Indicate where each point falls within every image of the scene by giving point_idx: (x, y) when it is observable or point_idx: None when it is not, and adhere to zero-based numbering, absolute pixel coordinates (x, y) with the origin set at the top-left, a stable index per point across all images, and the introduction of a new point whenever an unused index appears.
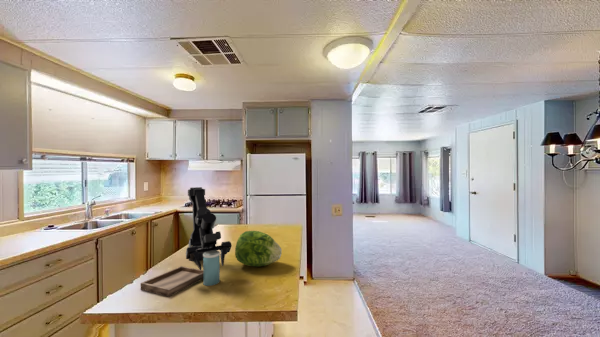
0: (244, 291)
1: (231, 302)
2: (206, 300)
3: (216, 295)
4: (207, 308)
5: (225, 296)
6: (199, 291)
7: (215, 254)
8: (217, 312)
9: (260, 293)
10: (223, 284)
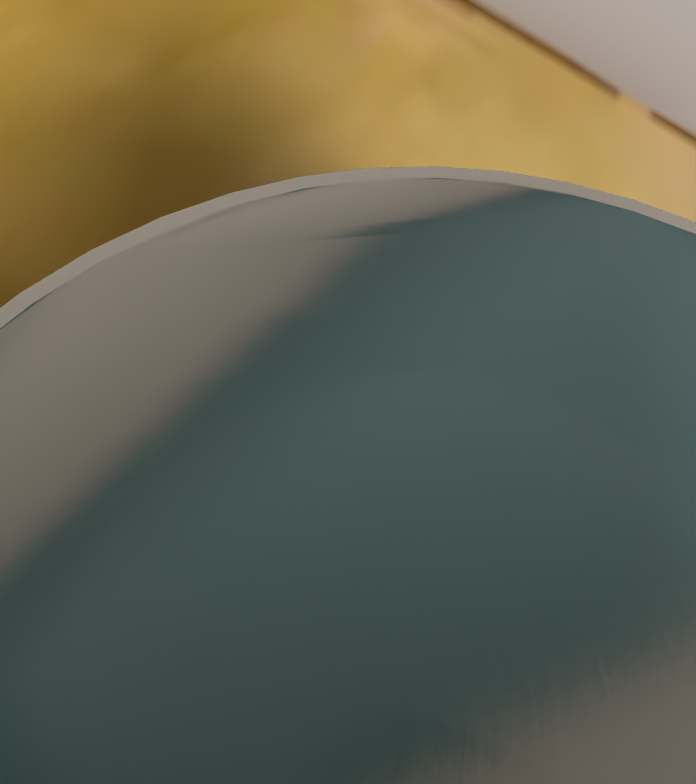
0: (133, 139)
1: (364, 67)
2: None
3: None
4: (583, 117)
5: None
6: None
7: (393, 198)
8: (524, 30)
9: (47, 19)
10: None
